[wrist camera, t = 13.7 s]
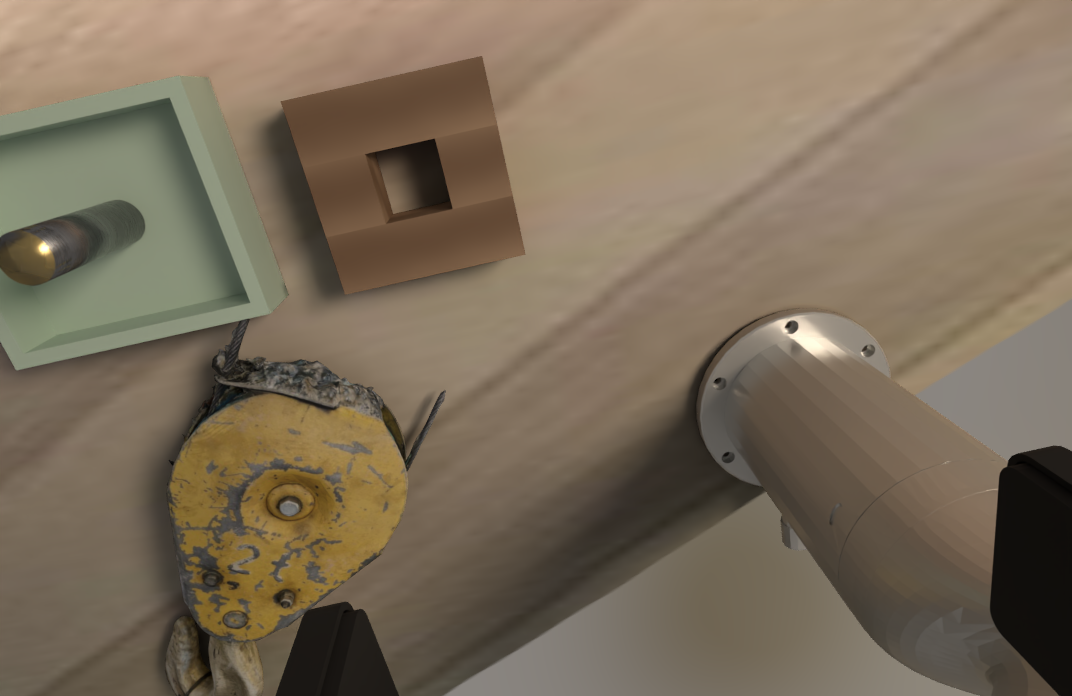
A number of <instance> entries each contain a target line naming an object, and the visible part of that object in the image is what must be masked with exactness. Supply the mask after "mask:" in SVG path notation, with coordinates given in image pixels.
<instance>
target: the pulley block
mask: <svg viewBox="0 0 1072 696" xmlns="http://www.w3.org/2000/svg"><path fill="white" fill-rule="evenodd" d="M248 322H249V319H245V320H240V323H239V325H238V327H237V328H236V329H235V330H234V331H233V332H232V337H231V342H230V344H229V345H225V350H226V351H224V350H221V349H219V353H218V355H216V356H215V357H214V358H213V362H212V367H213V368H214V370H215V371H216V372H217V373H218V374H219V375H214V377H215V381H216V382H217V385H215V386H214V387H212V388H213V390H214V392H213V396H212V397H211V398H210V400H208V401H207V402H206V401H204V402H203V404H202V407H201V408H200V409H199V413H200V414H199V415H198V416H197V417H196V418H195V419H192V422H193V425H192V426H191V427H190V429H189V432H188V434H187V436H185V435H183V436H184V443H183V445H182V447H181V449H180V453H179V455H178V457H177V459H176V461H175V462H173V461H170V460H169V461H170V463H171V465H172V466H173V469H172V472H171V476H170V480H169V482H168V484H167V485H168V488H167V502H168V508H169V514H170V519H171V525H172V530H173V537H174V547H175V552H176V558H177V564H178V569H179V575H180V581H181V587H182V593H183V598H184V602H185V603H186V604H187V606H188V607H189V609H190V611H191V614H192V616H193V618H194V620H195V621H196V623H197V624H198V625H199V626H200V628H201V629H202V630H203V631H204V632H206V633H207V634H209V635H210V640H209V647H208V650H209V661H210V666H211V671H210V670H209V669H208V668H207V667H206V665H205V663H204V661H203V659H202V658H201V654H200V650H199V640H198V630H197V628H196V626H195V624H194V620H193V619H192V618H190V617H188V616H182V617H180V618H179V619H178V620H177V621H176V622H175V623H174V628H173V632H172V636H171V639H170V643H169V646H168V650H167V654H166V659H165V672H166V675H167V678H168V682H169V684H170V685H171V687H172V689H173V690H174V692H175V694H176V696H261V695H262V692H263V667H262V663H261V659H260V656H259V652H258V649H257V645H256V642H255V640H260V639H262V638H264V637H266V636H268V635H270V634H271V633H273V632H275V631H277V630H279V629H281V628H284V627H288V626H289V625H290V624H291V623H293V622H294V621H295V620H297V619H298V618H299V617H300V616H302V615H303V614H304V613H305V612H307V611H308V610H309V609H311V608H312V607H313V606H314V605H316V604H317V603H318V602H319V601H321V600H322V599H323V598H325V597H326V596H327V595H328V594H330V593H331V592H332V591H334V590H335V589H336V588H338V587H339V586H340V585H341V584H343V583H344V582H345V581H347V580H348V579H349V578H351V577H352V576H353V575H355V574H356V573H357V572H358V571H360V570H361V569H362V568H364V567H365V566H366V565H368V564H369V563H370V562H372V561H373V560H374V559H376V558H377V557H378V556H380V555H381V554H382V552H383V549H384V548H385V546H386V544H387V543H388V541H389V539H390V537H391V536H392V534H393V532H394V531H395V529H396V527H397V526H398V524H399V522H400V520H401V518H402V515H403V512H404V510H405V505H406V498H407V490H408V475H407V471H408V470H409V468H410V466H411V464H412V462H413V460H414V458H415V456H416V454H417V452H418V450H419V448H420V445H421V443H422V442H423V440H424V438H425V436H426V434H427V432H428V430H429V428H430V427H431V425H432V422H433V420H434V418H435V416H436V413H437V411H438V409H439V407H440V405H441V404H442V402H443V401H444V397H445V392H446V390H445V391H443V392H442V393H441V394H440V395H439V397H438V399H437V401H436V403H435V405H434V407H433V409H432V412H431V414H430V416H429V418H428V420H427V423H426V425H425V426H424V428H423V430H422V431H421V433H420V434H419V436H418V437H417V438H416V441H415V443H414V445H413V447H412V450H411V452H410V455H409V456H408V458H407V452H406V446H405V439H404V437H403V434H402V431H401V428H400V425H399V424H398V422H397V420H396V418H395V417H394V415H393V413H392V411H391V409H390V408H388V407H387V406H386V405H385V404H384V402H383V400H382V398H381V397H380V396H378V395H377V394H376V393H375V392H374V391H372V389H373V387H368V388H364V387H363V386H362V385H361V384H351V383H349V382H348V380H347V379H346V378H343V379H340V378H339V377H338V376H337V375H335V374H334V373H332V372H331V371H330V370H329V369H328V368H327V367H325V366H324V365H323V364H321V363H320V362H318V361H315V362H308V361H306V360H298V361H294V362H290V363H283V362H265V360H266V358H263V357H256V358H254V359H253V360H251V359H247V358H246V360H248V361H244V360H239V359H238V352H239V349H240V345H241V342H242V339H243V336H244V333H245V330H246V328H247V325H248ZM235 371H239V372H241V371H242V373H241V374H236V375H232V374H233V373H234V372H235ZM233 379H237V380H233ZM371 391H372V392H371Z"/></svg>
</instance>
